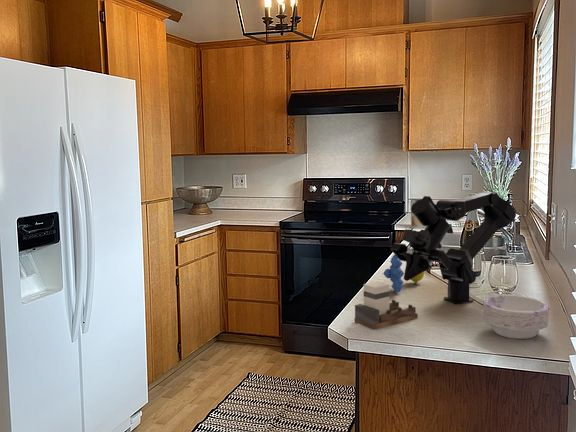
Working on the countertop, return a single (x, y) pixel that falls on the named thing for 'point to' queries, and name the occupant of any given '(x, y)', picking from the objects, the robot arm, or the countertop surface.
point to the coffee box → (414, 220)
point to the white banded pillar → (377, 296)
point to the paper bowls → (515, 315)
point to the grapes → (395, 274)
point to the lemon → (417, 277)
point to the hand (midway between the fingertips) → (405, 279)
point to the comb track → (383, 315)
